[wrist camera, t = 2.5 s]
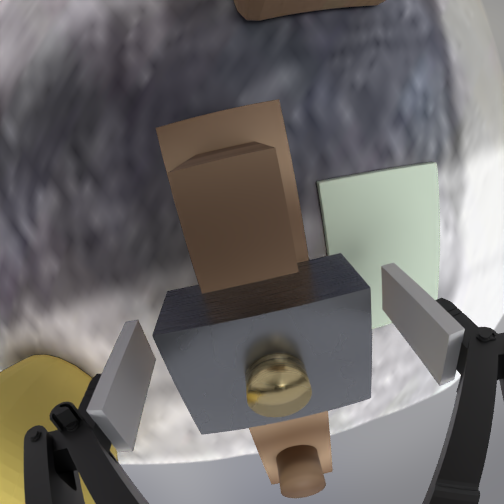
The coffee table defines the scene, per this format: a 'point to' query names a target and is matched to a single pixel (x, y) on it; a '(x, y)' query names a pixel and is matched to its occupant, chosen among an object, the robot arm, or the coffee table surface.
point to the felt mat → (385, 225)
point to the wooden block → (292, 7)
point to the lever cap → (270, 346)
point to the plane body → (247, 245)
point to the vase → (33, 413)
